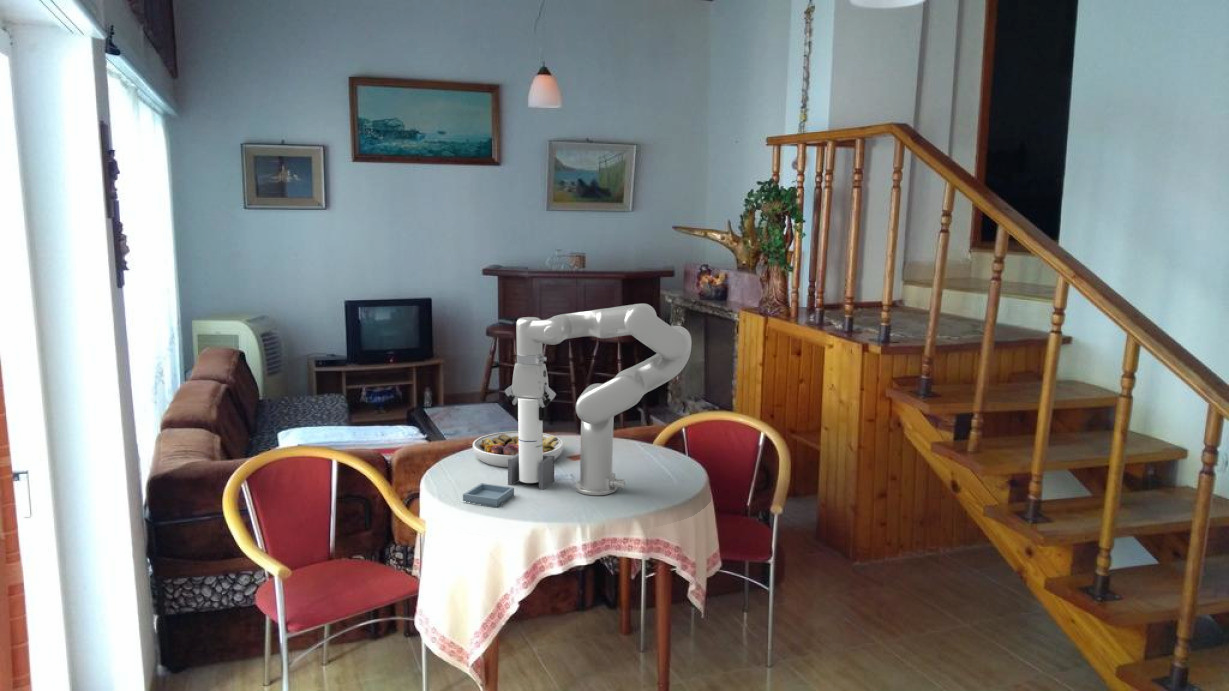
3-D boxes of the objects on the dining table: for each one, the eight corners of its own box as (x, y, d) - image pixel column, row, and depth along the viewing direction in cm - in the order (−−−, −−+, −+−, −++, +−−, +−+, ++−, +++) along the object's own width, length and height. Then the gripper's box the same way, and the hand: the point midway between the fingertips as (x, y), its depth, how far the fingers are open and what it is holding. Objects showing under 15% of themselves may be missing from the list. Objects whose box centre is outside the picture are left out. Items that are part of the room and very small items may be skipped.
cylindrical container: (516, 476, 253) (515, 396, 249) (539, 474, 255) (538, 394, 252) (522, 484, 246) (521, 401, 242) (545, 481, 249) (545, 399, 245)
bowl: (482, 443, 295) (482, 422, 294) (567, 446, 294) (567, 424, 293) (464, 469, 265) (463, 445, 264) (558, 472, 264) (558, 448, 263)
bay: (554, 481, 255) (554, 455, 253) (542, 489, 247) (542, 463, 246) (520, 476, 258) (520, 451, 257) (507, 484, 251) (507, 459, 249)
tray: (514, 495, 241) (514, 487, 241) (496, 507, 231) (496, 499, 231) (481, 490, 245) (481, 483, 244) (463, 502, 235) (462, 494, 234)
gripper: (562, 359, 246) (562, 418, 249) (508, 355, 252) (509, 413, 254) (551, 363, 239) (552, 424, 242) (497, 359, 245) (498, 418, 247)
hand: (530, 418), depth 248 cm, fingers closed on cylindrical container, 7 cm apart
